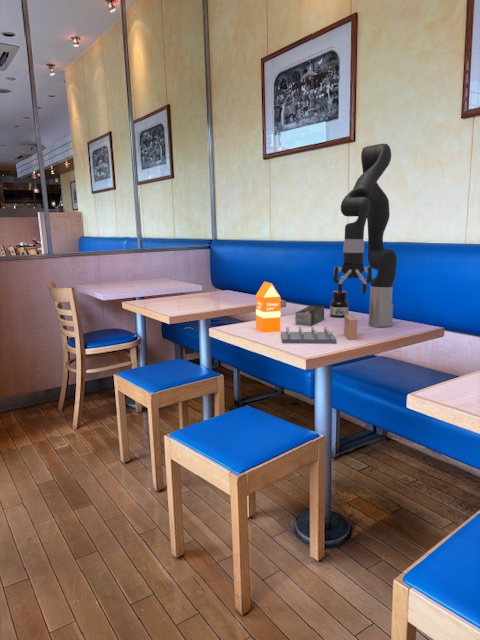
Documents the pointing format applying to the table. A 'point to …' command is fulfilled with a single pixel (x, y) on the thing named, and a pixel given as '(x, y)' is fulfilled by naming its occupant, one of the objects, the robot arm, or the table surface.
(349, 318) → the wooden block
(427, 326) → the table surface
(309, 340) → the rack
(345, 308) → the ink bottle
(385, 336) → the table surface
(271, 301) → the orange juice
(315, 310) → the weathered grey box
